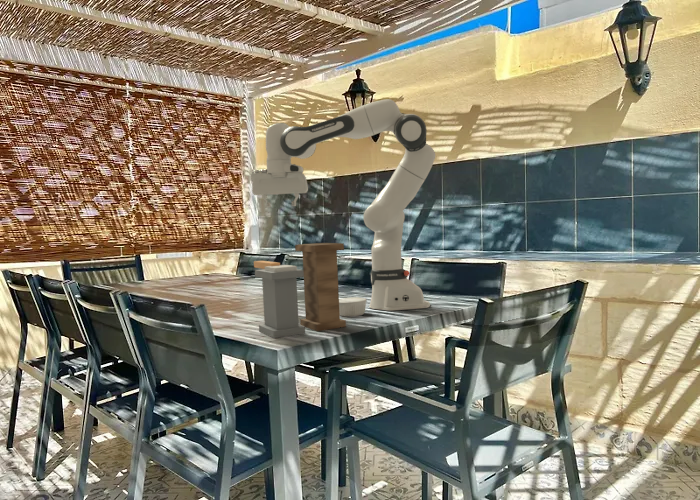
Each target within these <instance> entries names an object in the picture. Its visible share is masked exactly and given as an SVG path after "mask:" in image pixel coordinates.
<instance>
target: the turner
mask: <svg viewBox="0 0 700 500" xmlns="http://www.w3.org/2000/svg"><path fill="white" fill-rule="evenodd" d="M253 267H254V268H256V269H260V270H262V269H265V271H270V272H283V271H294V270H297V269H298V267H297V265H290V264H281V262H276V261H267V260H254V261H253Z"/></svg>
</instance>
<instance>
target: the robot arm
mask: <svg viewBox="0 0 700 500" xmlns="http://www.w3.org/2000/svg"><path fill="white" fill-rule="evenodd" d="M383 132H391V133H393V135H394V137H395V139H396V140H397V142H398V143H400V144H401V145H402V146H403V147H404V154H403V157H402V158H401V160H400V162H399V163H398V165H397V167H396V168H395V170H394V171H393V173H392V175H391V177H390V178H389V180H388V182H387V183H386V184H385V186H384V187H383V188H382V190H381V191H380V192H379V193H378V194H377V196H376V197H375V199H374V200H373V201H372V202H371V204H370V205H369V206H368V207H367V208H366V209H364V212H363V216H362V217H363V222H364V225H365V226H366V228H367V229H368V230H370V231H372V232H374V237H373V243H372V245H371V250H370V251H371V270H370V283H371V287H372V288H371V297H370V298H371V299H370V303H369V308H370V309H374V310H382V311H401V310H402V311H403V310H404V311H405V310H415V309H427V308H430V306H431V303H430V302H429V301H428V300H426V299H425V298H424V297H425V296H424V293H423V290H422V289H421V287H420V286H418V285H417V284H415V283H414V282H413V281H411V280H410V279H408V276H409V275H410V271H409V270H408V269H407V270H406V269H404V268H403V267H402V240H403V232H404V223H405V217H406V216H405V212H404V210H405V209H406V208H407V206H408V205H409V204H410V203H411V201H413V200H414V199H415V197H416V196H417V194H418V192H419V191H420V189H421V187H422V186H423V184H424V182H425V181H426V179H427V177H428V175H429V174H430V171H431V169H432V167H433V164H434V162H435V159H436V152H435V149H434V148H433V147H432V146H431V145H429V144H428V143H427V126H426V123H425V121H424V120H423V118H421V117H420V116H419V115H417V114H415V113H404V112H401V111H400V107H399V106H398V104H397V103H396V101H394V100H393V99H391V98H390V99H389V98H388V99H386V98H385V99H381V100H377V101H372V102H369V103H367V104H363V105H360V106H358V107H355V108H353V109H351V110H350V111H349V110H348V111H347V112H345V113H343V114H341V115H338V116H337V117H334V118H331V119H327V120H324V121H321V122H318V123H315V124H312V125H308V126H297V125H296V126H294V125H293V126H290V125H288V124H287V123H285V122H277V123H274V124H271V125H269V126H268V127H267V129H266V132H265V151H266V169H255V170H254V171H252V172H251V174H250V179H251V180H250V181H251V182H252V185H251V186H252V187H251V188H252V189H251V193H252V194H253V195H254V196H261V197H262V199H263V201H264V203H265V208H271V207H272V206H271V202H270V201H268V200H267V198H268V196H269V195H273V196H274V195H291V194H293V195H294V197H295V198H294V200H293V201H291V207H296V206H297V201H298V199H299V194H307V193H308V191H309V187H308V186H309V185H308V181H307V177H306V175H305V174H304V167H303V166H301V165H297V164H295V163H292V158H298V159H302V160H303V159H308V158H310V157H312V156H313V155H314V154H315V152H316V149H317V144H320V143H322V142H325V141H329V140H332V139H335V138H348V139H352V140H359V139H361V140H362V139H366V138H370V137H372V136H375V135H377V134H380V133H383Z"/></svg>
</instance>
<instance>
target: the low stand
mask: <svg viewBox="0 0 700 500" xmlns="http://www.w3.org/2000/svg"><path fill="white" fill-rule="evenodd" d="M254 276H255V277H256V278H261V279H262V280H261V281H262V283H261V284H262V299H263V300H262V301H263V302H262V303H263V316H264V317H263V318H264V319H263V320H264V321H263V322H264V324H263V323H262V324H259V325H258V331H259V332H260V333H262V334H264V335H266V336H268V337H271V338H273V339H274V338H275V339H276V338H283V337H289V336H297V335H301V334H306V327H305V326H302V325H301V324H299V322H300V320H299V307H298V306H299V303H298V283H297V282H298V281H297V280H298V279H297V278H304V271H303V269H300V268H299V269H298V268H297V270H294V271H283V272H270V271H265V269H254Z"/></svg>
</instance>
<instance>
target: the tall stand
mask: <svg viewBox="0 0 700 500" xmlns="http://www.w3.org/2000/svg"><path fill="white" fill-rule="evenodd" d="M344 244H345V243H339V242H316V243H315V242H313V243H302V244H301V243H300V244H295V245H294V247H295V248H294V249H295V252H302V270H303V271H304V277H303V289H304V290H303V291H304V309H305V310H304V311H305V318H299V319H300V320H299V322H300V324H299V325H302V326H305V329H306V328H307V329H309V330H313V331H316V332H321V331H326V330H327V331H328V330H334V329H341V328H347V324H346V319H342V318H341V316H340V313H339V299H340V298H339V293H340V291H339V273H338V270H339V269H338V255H337V254H338V253H337V252H338V251H344V250H345V245H344ZM340 327H341V328H340Z"/></svg>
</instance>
